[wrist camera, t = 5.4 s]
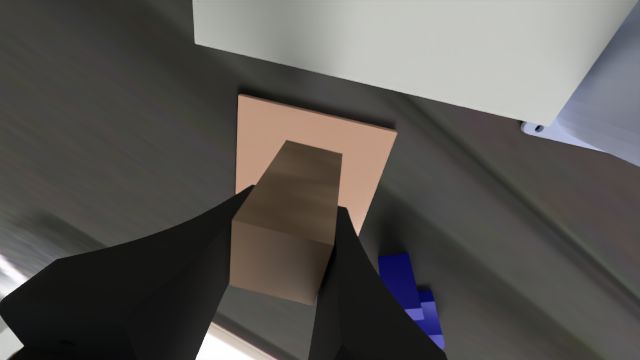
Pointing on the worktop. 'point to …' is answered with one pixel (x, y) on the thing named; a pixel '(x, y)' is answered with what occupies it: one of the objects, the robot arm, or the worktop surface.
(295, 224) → the walnut peg
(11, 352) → the gable box
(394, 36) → the board
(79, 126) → the worktop surface
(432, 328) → the cable clip
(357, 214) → the terracotta tile
